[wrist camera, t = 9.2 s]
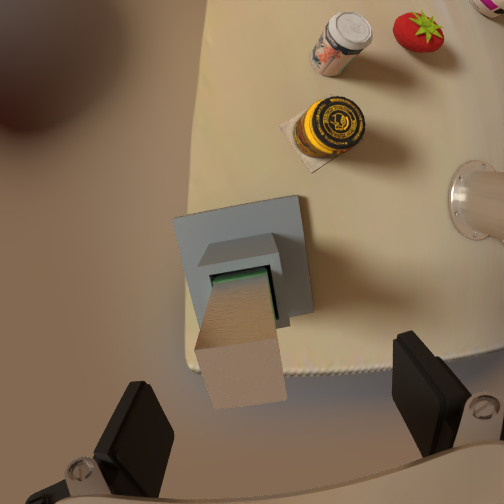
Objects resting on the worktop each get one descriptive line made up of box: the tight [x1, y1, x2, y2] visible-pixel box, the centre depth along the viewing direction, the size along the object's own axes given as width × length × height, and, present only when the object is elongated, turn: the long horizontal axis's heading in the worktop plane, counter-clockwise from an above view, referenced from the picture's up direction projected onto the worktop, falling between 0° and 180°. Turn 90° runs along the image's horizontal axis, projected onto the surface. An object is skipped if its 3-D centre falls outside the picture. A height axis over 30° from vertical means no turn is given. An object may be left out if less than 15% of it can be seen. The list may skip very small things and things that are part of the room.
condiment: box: [279, 95, 365, 173], centre depth 33 cm, size 7×8×12 cm
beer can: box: [310, 12, 373, 76], centre depth 30 cm, size 5×5×12 cm
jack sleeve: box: [173, 195, 314, 329], centre depth 37 cm, size 16×16×12 cm
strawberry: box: [393, 10, 444, 53], centre depth 30 cm, size 6×8×10 cm
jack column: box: [194, 265, 287, 409], centre depth 27 cm, size 5×5×17 cm
